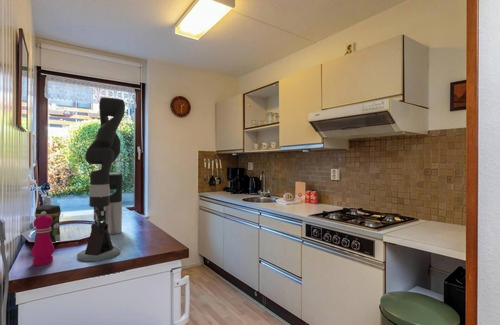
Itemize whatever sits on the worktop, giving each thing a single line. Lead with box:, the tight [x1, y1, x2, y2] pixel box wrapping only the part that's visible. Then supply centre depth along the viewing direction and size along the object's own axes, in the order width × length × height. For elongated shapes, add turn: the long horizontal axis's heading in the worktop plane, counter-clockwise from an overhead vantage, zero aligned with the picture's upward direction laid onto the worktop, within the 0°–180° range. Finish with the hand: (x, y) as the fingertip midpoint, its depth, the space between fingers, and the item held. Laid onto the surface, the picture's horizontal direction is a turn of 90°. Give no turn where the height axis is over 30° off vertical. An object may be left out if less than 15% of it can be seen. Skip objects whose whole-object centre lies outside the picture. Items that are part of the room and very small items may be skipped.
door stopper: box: [85, 222, 113, 256], centre depth 116 cm, size 9×6×12 cm, turn 164°
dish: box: [76, 245, 121, 263], centre depth 116 cm, size 16×16×1 cm
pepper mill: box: [30, 211, 55, 266], centre depth 106 cm, size 7×7×20 cm
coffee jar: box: [34, 204, 62, 243], centre depth 130 cm, size 10×8×19 cm
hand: (99, 232), depth 116 cm, fingers open, 8 cm apart
